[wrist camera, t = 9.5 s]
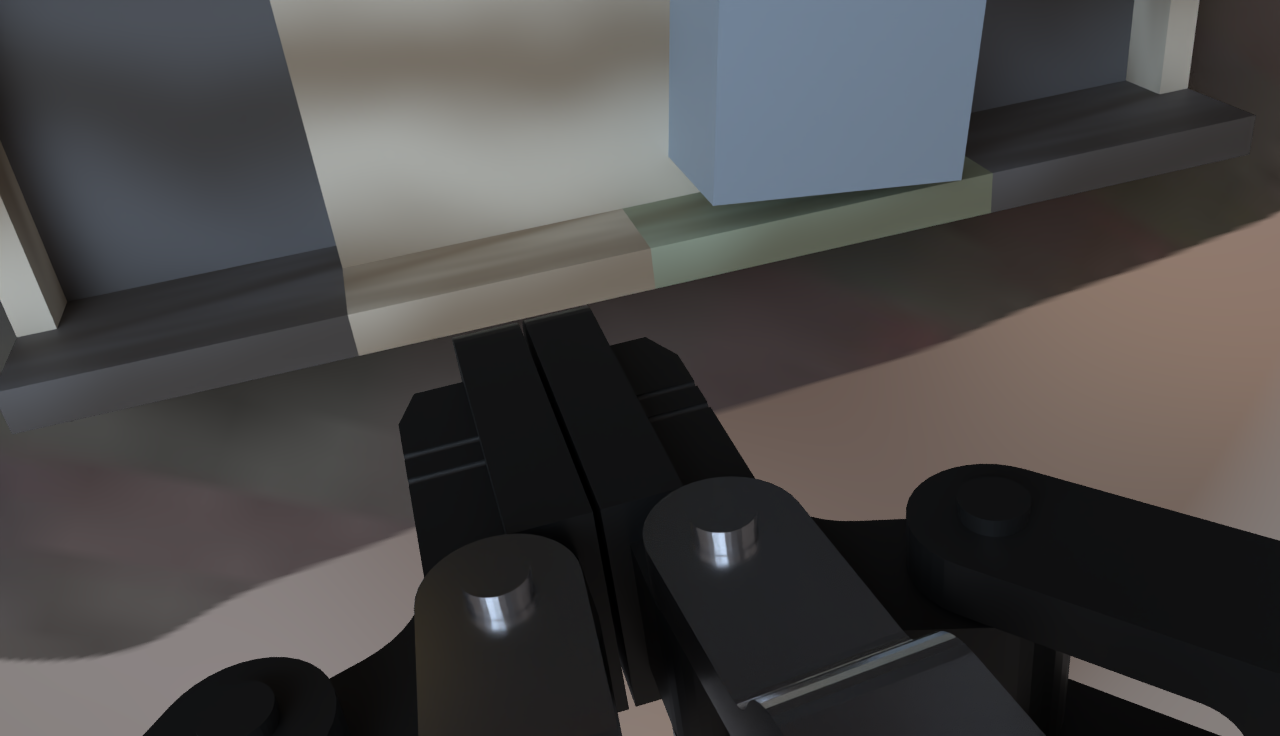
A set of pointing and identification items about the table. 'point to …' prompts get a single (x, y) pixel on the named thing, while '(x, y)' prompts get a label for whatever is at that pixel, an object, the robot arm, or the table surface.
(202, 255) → the trap lane
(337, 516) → the table surface
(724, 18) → the slate block
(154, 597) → the table surface
